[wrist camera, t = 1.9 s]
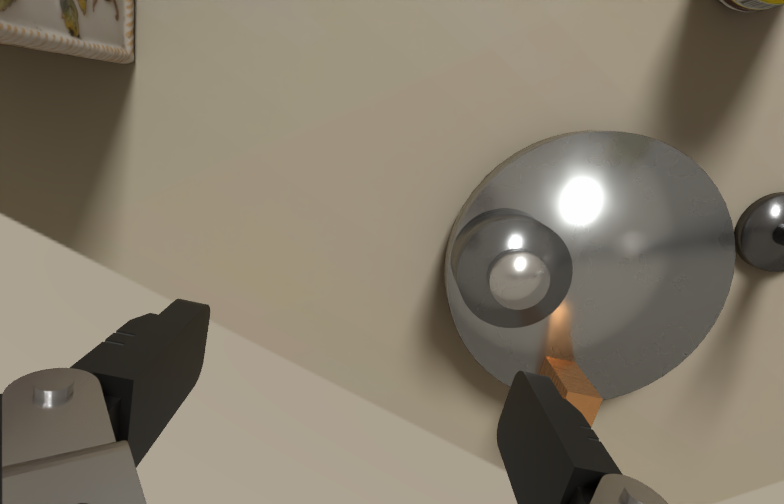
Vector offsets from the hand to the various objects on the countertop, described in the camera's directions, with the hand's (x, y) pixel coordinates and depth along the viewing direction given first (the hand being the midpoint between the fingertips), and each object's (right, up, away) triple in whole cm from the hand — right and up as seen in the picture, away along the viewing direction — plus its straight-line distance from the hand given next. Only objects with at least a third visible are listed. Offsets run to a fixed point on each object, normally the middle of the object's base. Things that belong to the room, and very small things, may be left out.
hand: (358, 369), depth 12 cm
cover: (+7, +3, +16) cm, 17 cm away
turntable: (+13, +2, +18) cm, 22 cm away
